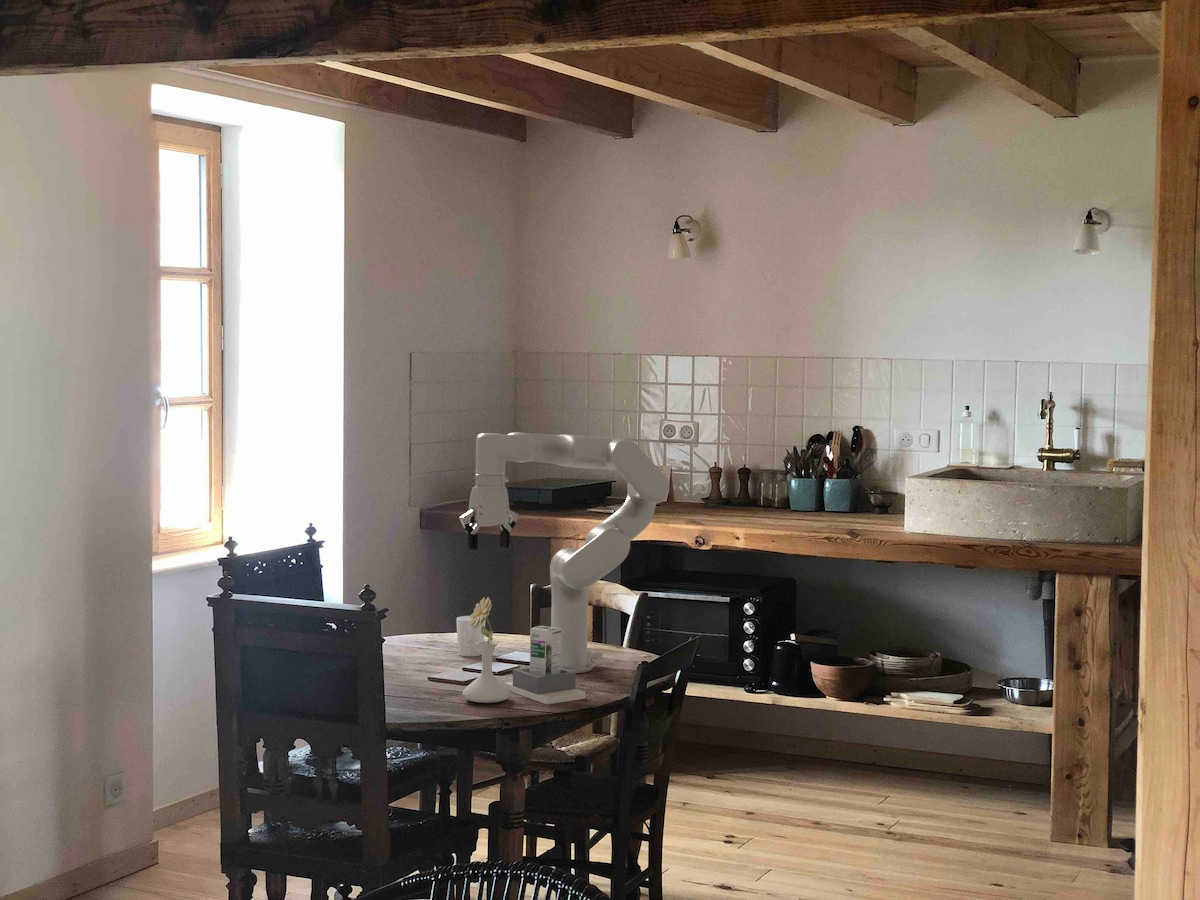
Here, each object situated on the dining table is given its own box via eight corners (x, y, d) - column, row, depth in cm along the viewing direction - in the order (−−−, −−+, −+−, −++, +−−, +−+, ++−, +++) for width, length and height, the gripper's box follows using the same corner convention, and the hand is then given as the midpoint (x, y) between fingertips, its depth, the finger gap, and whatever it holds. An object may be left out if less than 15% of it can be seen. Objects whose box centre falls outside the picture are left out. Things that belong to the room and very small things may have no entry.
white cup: (458, 657, 371) (459, 621, 370) (453, 652, 378) (454, 616, 378) (487, 656, 373) (487, 620, 372) (482, 651, 380) (482, 615, 380)
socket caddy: (541, 683, 341) (541, 661, 340) (585, 698, 325) (585, 675, 325) (503, 688, 334) (503, 666, 334) (546, 704, 319) (546, 681, 319)
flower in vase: (462, 695, 327) (464, 591, 325) (510, 695, 327) (512, 591, 326) (461, 708, 314) (462, 600, 312) (511, 708, 314) (512, 600, 313)
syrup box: (528, 688, 329) (529, 628, 328) (541, 683, 334) (541, 624, 333) (548, 691, 326) (549, 630, 325) (561, 686, 331) (562, 626, 330)
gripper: (509, 479, 358) (508, 544, 359) (453, 481, 347) (452, 548, 348) (526, 481, 352) (525, 547, 353) (469, 483, 342) (468, 551, 342)
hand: (488, 548), depth 351 cm, fingers open, 9 cm apart
